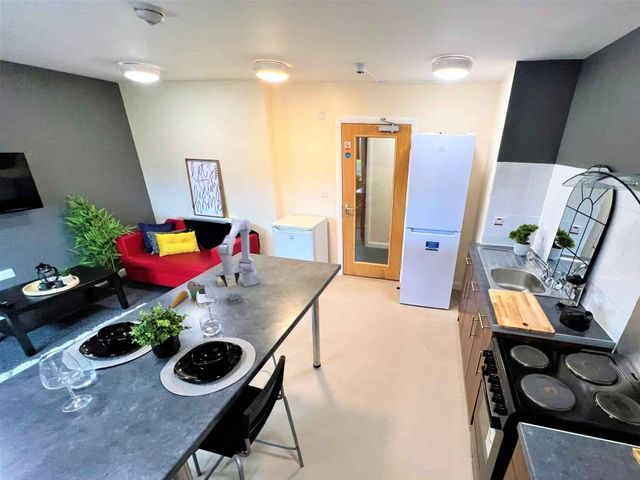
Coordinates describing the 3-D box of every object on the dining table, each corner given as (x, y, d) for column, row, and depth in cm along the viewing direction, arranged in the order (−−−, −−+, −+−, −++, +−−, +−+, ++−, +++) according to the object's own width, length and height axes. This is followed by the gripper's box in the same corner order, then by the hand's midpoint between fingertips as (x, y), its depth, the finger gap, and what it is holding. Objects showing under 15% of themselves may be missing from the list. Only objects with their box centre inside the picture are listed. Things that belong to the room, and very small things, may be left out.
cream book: (235, 282, 177) (234, 279, 176) (237, 287, 171) (236, 284, 170) (226, 284, 175) (225, 281, 174) (228, 289, 169) (227, 286, 168)
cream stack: (226, 279, 201) (225, 276, 200) (227, 284, 194) (227, 280, 193) (217, 281, 199) (216, 277, 197) (218, 286, 192) (217, 282, 191)
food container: (185, 298, 176) (181, 284, 172) (195, 294, 181) (191, 280, 177) (198, 303, 171) (194, 288, 166) (207, 299, 176) (204, 284, 171)
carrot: (184, 296, 180) (179, 290, 178) (190, 293, 179) (185, 288, 177) (166, 316, 163) (161, 310, 160) (173, 313, 162) (167, 307, 160)
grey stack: (238, 295, 180) (238, 292, 179) (241, 302, 174) (240, 298, 173) (228, 298, 178) (228, 294, 177) (230, 304, 171) (230, 300, 170)
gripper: (214, 269, 160) (219, 290, 166) (242, 264, 167) (245, 285, 173) (213, 264, 166) (217, 285, 172) (240, 260, 173) (243, 281, 178)
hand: (231, 285), depth 173 cm, fingers closed on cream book, 5 cm apart
